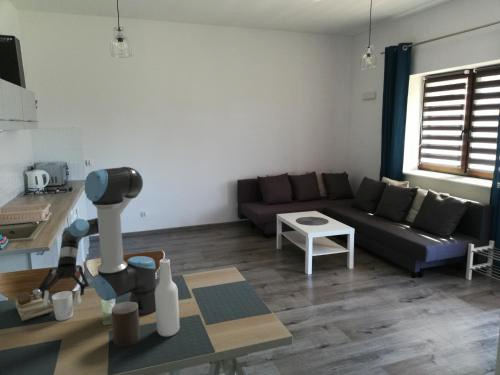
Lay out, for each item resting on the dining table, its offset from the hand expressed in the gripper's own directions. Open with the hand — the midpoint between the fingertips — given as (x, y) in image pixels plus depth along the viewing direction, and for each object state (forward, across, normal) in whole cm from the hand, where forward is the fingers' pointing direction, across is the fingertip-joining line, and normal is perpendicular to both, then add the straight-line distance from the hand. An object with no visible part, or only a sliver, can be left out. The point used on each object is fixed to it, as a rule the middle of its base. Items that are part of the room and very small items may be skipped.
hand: (61, 304), depth 156 cm
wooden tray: (-2, +14, -10) cm, 17 cm away
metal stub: (-8, +15, -13) cm, 21 cm away
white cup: (+4, 0, -4) cm, 6 cm away
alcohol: (+19, -45, +11) cm, 50 cm away
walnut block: (-6, +19, -10) cm, 23 cm away
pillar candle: (+21, -29, +13) cm, 38 cm away
